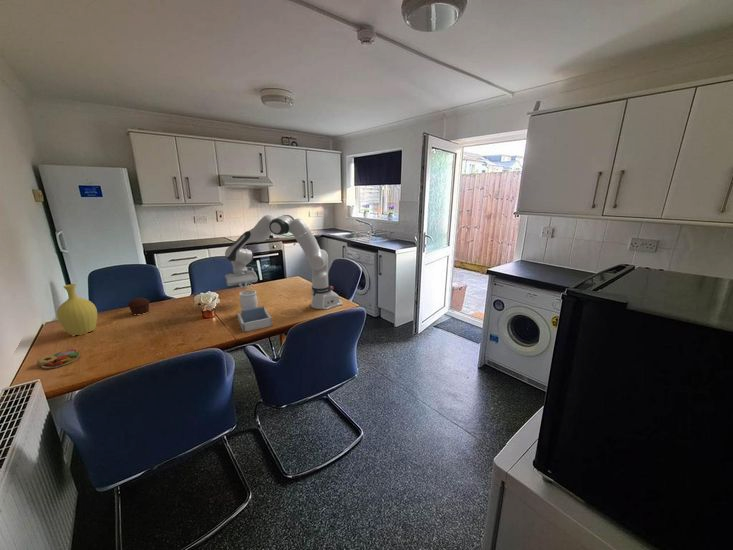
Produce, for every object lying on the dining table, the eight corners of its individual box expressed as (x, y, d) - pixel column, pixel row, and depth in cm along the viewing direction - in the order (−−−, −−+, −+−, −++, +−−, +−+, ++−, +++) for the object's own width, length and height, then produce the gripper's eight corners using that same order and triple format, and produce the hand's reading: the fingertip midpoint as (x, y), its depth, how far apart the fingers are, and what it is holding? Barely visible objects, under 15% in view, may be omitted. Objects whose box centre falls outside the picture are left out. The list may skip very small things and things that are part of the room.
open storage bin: (265, 314, 191) (264, 307, 189) (272, 325, 175) (271, 318, 174) (238, 320, 183) (237, 312, 181) (243, 332, 167) (242, 324, 166)
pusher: (264, 317, 185) (263, 306, 183) (265, 319, 183) (264, 307, 181) (242, 322, 178) (240, 310, 176) (243, 323, 177) (241, 311, 175)
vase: (71, 328, 171) (57, 282, 164) (106, 323, 177) (94, 279, 170) (56, 340, 157) (41, 291, 149) (94, 335, 163) (81, 287, 155)
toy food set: (34, 366, 135) (32, 360, 134) (70, 352, 146) (69, 346, 146) (51, 372, 130) (48, 366, 129) (87, 357, 142) (85, 351, 141)
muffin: (130, 317, 186) (126, 303, 183) (128, 312, 194) (125, 298, 191) (152, 313, 193) (149, 298, 191) (150, 308, 201) (147, 294, 199)
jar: (252, 318, 186) (250, 295, 182) (238, 316, 188) (235, 294, 184) (261, 311, 196) (259, 290, 192) (248, 310, 198) (245, 289, 194)
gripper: (224, 271, 200) (227, 288, 195) (255, 267, 210) (259, 284, 205) (224, 276, 205) (227, 293, 200) (254, 272, 215) (258, 288, 210)
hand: (244, 288), depth 203 cm, fingers closed
